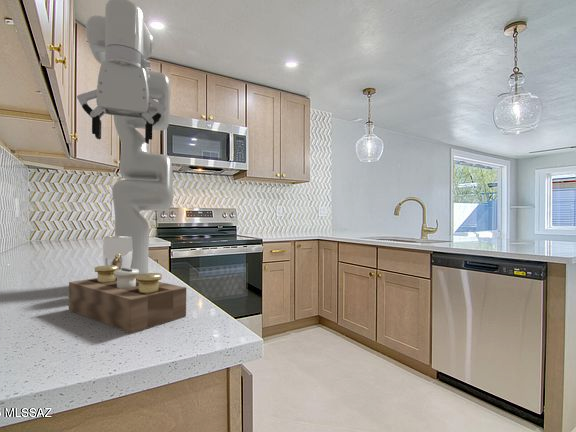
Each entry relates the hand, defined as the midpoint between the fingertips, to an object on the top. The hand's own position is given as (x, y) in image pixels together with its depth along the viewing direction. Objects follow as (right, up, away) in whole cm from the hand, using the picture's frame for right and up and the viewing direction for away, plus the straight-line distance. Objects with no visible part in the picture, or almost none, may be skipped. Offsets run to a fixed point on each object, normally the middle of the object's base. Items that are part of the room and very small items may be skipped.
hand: (123, 140), depth 71 cm
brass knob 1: (-5, -34, +2) cm, 35 cm away
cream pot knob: (+2, -34, -2) cm, 34 cm away
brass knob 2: (+8, -34, -6) cm, 36 cm away
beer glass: (-9, -37, +15) cm, 41 cm away
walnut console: (+2, -37, -2) cm, 37 cm away
